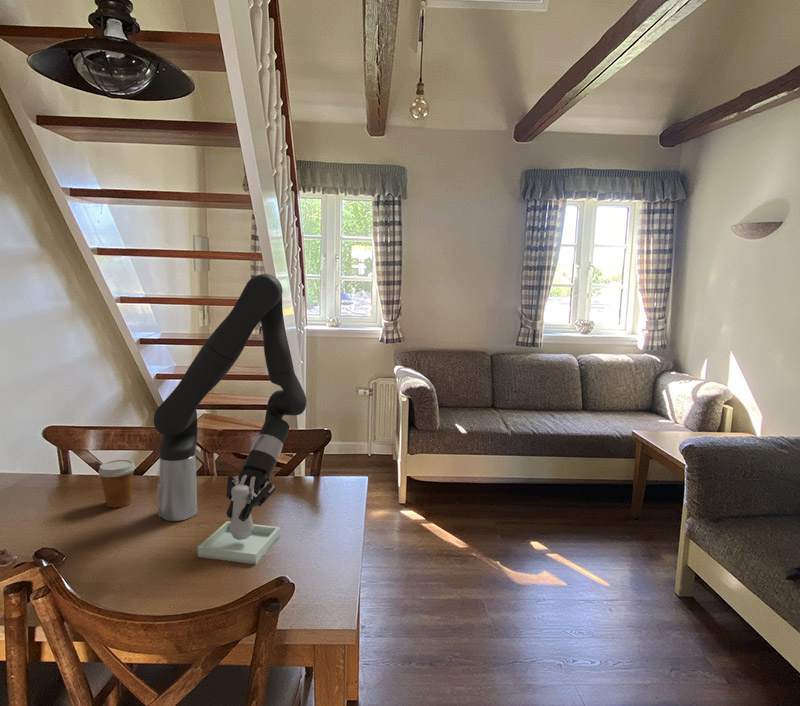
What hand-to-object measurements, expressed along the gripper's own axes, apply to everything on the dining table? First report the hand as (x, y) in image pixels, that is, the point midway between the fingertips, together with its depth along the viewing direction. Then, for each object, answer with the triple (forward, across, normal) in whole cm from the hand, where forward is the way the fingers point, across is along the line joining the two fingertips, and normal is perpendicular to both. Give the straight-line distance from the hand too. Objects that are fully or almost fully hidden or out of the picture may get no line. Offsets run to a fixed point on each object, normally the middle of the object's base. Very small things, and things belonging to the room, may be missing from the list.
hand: (235, 518), depth 130 cm
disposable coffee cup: (0, -48, +11) cm, 49 cm away
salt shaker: (+3, 0, +6) cm, 6 cm away
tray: (+5, 0, +7) cm, 8 cm away
